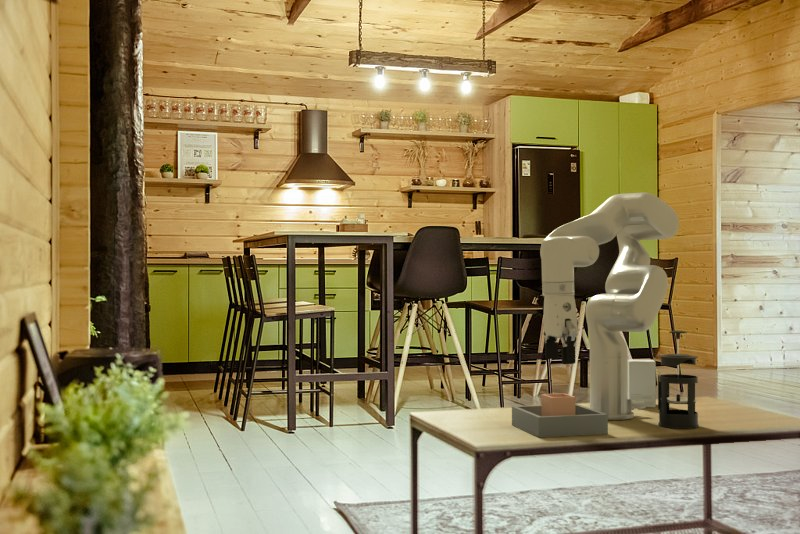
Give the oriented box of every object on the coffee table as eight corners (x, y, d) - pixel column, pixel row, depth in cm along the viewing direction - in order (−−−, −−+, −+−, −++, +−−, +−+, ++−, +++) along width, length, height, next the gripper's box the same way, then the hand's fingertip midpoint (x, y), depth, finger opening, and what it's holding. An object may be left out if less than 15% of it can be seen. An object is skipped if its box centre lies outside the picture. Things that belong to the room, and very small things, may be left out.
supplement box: (656, 407, 243) (656, 361, 244) (628, 406, 245) (628, 361, 245) (654, 403, 251) (653, 359, 251) (627, 403, 252) (626, 358, 252)
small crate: (564, 422, 214) (564, 393, 214) (575, 426, 208) (575, 396, 208) (541, 423, 212) (541, 394, 212) (551, 427, 206) (551, 397, 206)
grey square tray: (576, 422, 220) (576, 403, 220) (607, 434, 204) (607, 414, 204) (511, 424, 216) (511, 406, 216) (538, 437, 200) (538, 417, 200)
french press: (709, 427, 211) (709, 331, 211) (678, 430, 208) (677, 332, 208) (675, 420, 222) (675, 328, 222) (645, 423, 218) (645, 329, 219)
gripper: (588, 290, 203) (590, 364, 203) (558, 287, 219) (559, 356, 220) (558, 291, 201) (560, 366, 201) (529, 288, 218) (531, 358, 218)
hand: (560, 361), depth 211 cm, fingers open, 9 cm apart
